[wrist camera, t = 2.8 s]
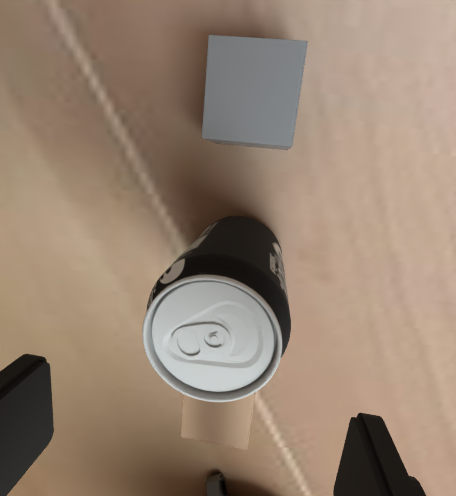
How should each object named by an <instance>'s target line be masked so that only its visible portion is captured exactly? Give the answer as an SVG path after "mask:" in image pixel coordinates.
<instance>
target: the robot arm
mask: <svg viewBox="0 0 456 496" xmlns="http://www.w3.org/2000/svg"><path fill="white" fill-rule="evenodd" d="M53 432H54V427H53V409H52V392H51V375H50V364H49V363H47V361H46V359H45V357H42V356H36V355H30V354H24V355H22V356H21V357H19V358H18V359H16V360H15V361H14V362H12V363H11V364H10V365H8V366H7V367H6V368H4V369H3V370H2V371H0V496H7V494H8V493H9V492H10V491H11V490H12V488H13V487H14V486H15V485H16V483H17V482H18V481H19V480H20V478H21V477H22V476H23V475H24V474H25V472H26V471H27V470H28V469H29V467H30V466H31V465H32V464H33V462H34V461H35V460H36V459H37V458H38V456H39V455H40V454H41V453H42V451H43V450H44V449H45V448H46V446H47V445H48V444H49V442H50V441H51V439H52V436H53ZM334 496H426V495H425V492H424V490H423V488H422V487H421V485H420V483H419V481H418V480H417V479H416V478H415V477H412V476H409V475H408V473H407V471H406V469H405V467H404V464H403V462H402V460H401V458H400V456H399V453H398V451H397V449H396V447H395V445H394V442H393V440H392V438H391V436H390V434H389V431H388V429H387V427H386V425H385V423H384V421H383V419H382V417H380V416H376V415H370V414H364V413H359V414H358V415H357V418H355V417H352V418H351V420H350V423H349V427H348V432H347V436H346V440H345V444H344V448H343V452H342V456H341V461H340V465H339V469H338V473H337V477H336V481H335V485H334Z"/></svg>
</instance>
